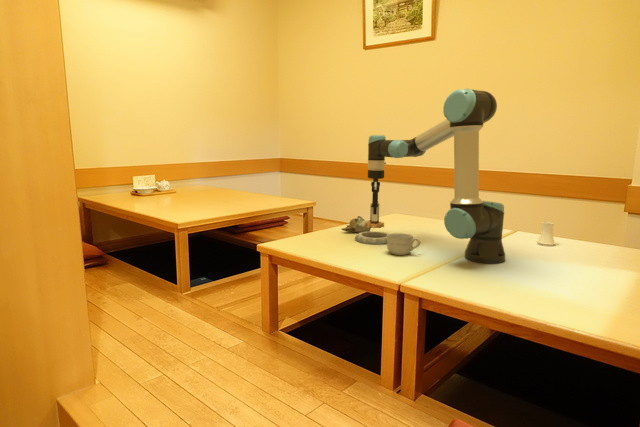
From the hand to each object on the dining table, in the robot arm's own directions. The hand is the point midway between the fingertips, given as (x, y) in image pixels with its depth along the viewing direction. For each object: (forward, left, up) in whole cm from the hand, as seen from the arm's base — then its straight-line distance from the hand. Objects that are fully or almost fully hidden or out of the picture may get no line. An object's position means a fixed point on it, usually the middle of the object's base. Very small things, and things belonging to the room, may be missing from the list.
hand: (374, 219), depth 203 cm
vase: (+3, -77, -10) cm, 78 cm away
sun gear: (0, 0, -3) cm, 3 cm away
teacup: (-23, -12, -10) cm, 28 cm away
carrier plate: (0, 0, -10) cm, 10 cm away
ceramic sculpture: (+15, +8, -10) cm, 20 cm away
